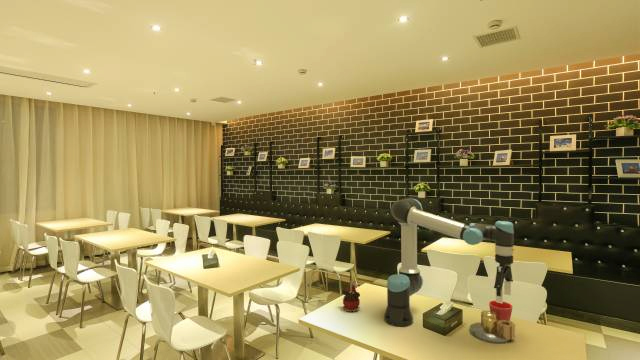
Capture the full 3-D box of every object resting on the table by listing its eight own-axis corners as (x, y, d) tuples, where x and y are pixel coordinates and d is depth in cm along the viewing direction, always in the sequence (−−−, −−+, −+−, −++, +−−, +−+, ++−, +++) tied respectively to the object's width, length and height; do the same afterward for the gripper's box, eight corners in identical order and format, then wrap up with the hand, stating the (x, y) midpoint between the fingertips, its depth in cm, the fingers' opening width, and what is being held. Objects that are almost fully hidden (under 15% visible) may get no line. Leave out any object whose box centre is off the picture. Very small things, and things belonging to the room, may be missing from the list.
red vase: (339, 310, 192) (339, 279, 191) (346, 304, 200) (346, 275, 199) (356, 314, 186) (355, 282, 186) (363, 308, 194) (362, 278, 194)
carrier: (470, 338, 157) (470, 322, 157) (469, 321, 175) (469, 307, 175) (513, 346, 150) (513, 329, 150) (508, 327, 168) (508, 312, 168)
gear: (497, 337, 155) (497, 325, 155) (496, 331, 162) (496, 318, 162) (515, 340, 152) (515, 327, 152) (513, 333, 159) (513, 321, 159)
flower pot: (515, 328, 168) (515, 309, 168) (492, 326, 170) (492, 307, 170) (508, 319, 178) (508, 301, 178) (486, 317, 180) (486, 299, 180)
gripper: (505, 260, 145) (504, 308, 146) (519, 250, 163) (519, 293, 164) (487, 257, 150) (486, 303, 151) (503, 248, 168) (502, 289, 169)
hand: (503, 298), depth 157 cm, fingers open, 13 cm apart
